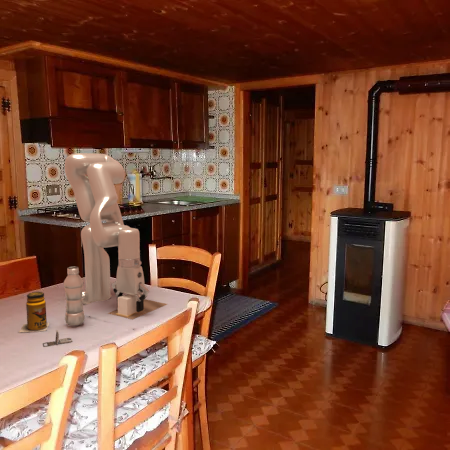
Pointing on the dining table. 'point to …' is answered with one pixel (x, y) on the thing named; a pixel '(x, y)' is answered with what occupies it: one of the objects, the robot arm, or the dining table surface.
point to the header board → (148, 308)
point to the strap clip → (61, 341)
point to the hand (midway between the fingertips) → (130, 308)
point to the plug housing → (127, 304)
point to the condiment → (35, 313)
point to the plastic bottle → (74, 297)
